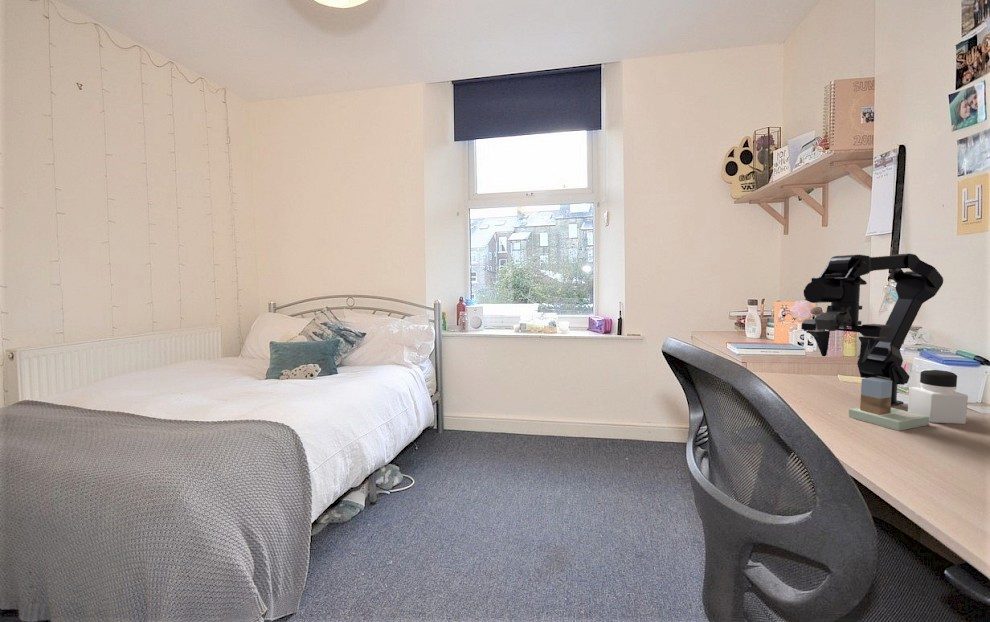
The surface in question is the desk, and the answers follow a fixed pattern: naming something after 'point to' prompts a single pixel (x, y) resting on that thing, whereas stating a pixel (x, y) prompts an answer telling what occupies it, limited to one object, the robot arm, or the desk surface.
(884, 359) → the robot arm
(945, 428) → the desk surface
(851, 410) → the baseplate
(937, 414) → the medicine bottle
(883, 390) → the slate block
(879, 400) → the walnut cube
